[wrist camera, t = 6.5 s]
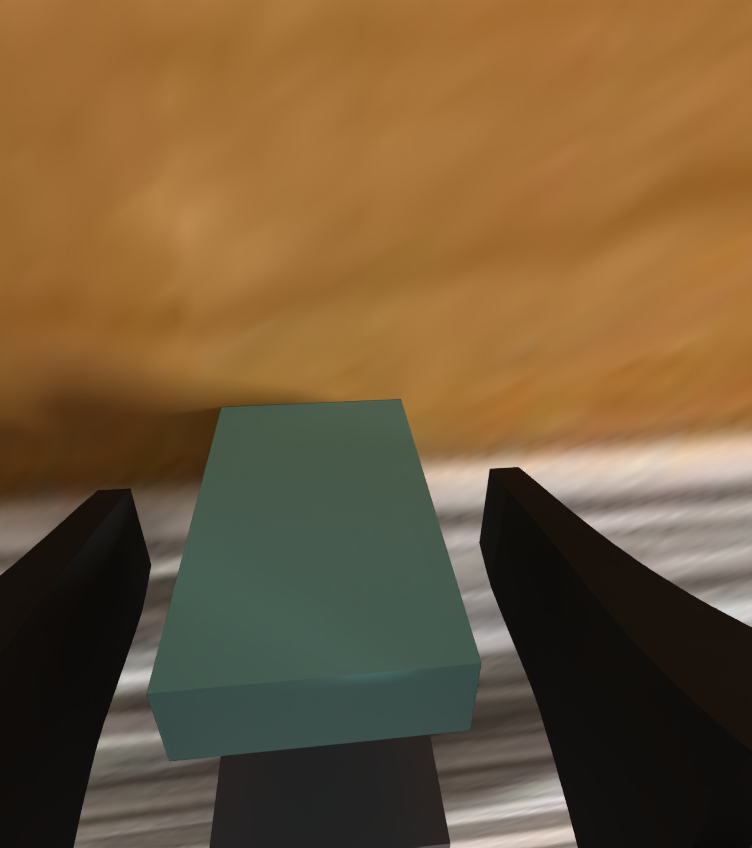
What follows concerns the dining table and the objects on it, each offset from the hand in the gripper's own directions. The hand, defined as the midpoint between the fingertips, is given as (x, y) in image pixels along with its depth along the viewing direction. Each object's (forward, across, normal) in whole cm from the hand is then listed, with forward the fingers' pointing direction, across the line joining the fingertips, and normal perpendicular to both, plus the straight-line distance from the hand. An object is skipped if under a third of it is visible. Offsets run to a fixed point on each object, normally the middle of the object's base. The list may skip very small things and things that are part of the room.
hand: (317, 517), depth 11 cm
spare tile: (+3, 0, 0) cm, 3 cm away
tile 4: (+3, 0, +5) cm, 6 cm away
